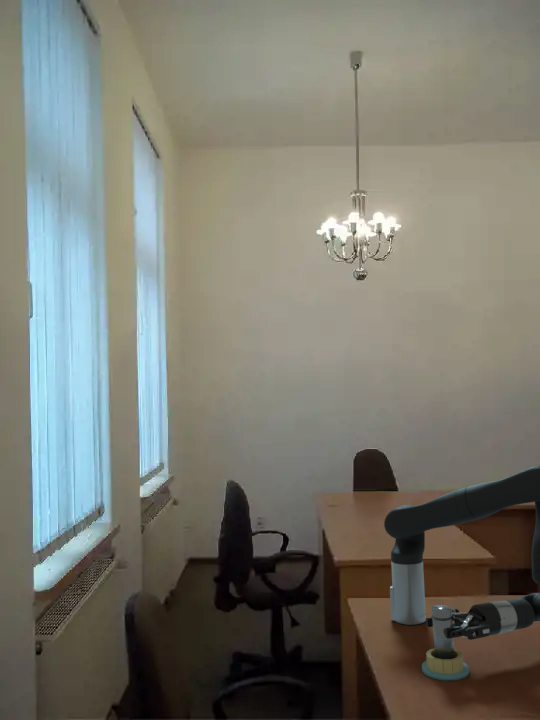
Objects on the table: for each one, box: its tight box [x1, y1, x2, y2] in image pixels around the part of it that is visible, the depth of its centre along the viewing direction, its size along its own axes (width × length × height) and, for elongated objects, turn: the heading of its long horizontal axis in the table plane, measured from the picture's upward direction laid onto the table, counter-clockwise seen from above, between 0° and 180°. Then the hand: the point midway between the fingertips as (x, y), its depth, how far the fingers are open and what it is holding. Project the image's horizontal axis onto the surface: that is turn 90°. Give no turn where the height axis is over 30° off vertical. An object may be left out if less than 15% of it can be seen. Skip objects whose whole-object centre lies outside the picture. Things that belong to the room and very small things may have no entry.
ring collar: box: [421, 648, 470, 682], centre depth 169 cm, size 11×11×4 cm
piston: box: [431, 604, 455, 659], centre depth 170 cm, size 5×5×14 cm
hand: (436, 628), depth 169 cm, fingers open, 8 cm apart
